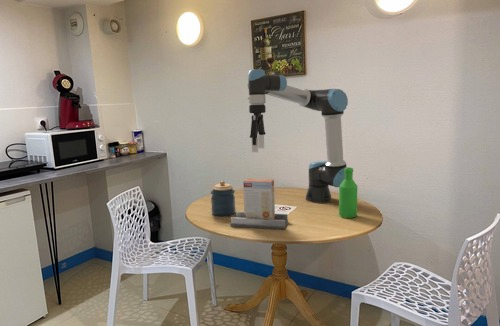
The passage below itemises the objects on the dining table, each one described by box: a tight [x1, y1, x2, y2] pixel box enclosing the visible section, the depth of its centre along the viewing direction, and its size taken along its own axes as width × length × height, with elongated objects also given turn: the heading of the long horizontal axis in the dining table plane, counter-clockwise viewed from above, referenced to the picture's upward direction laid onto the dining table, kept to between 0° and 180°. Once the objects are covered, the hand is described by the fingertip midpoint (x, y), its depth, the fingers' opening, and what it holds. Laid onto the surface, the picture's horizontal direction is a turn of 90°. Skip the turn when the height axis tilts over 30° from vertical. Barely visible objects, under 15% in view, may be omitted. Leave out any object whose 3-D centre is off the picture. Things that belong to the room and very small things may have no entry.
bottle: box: [338, 167, 358, 219], centre depth 174 cm, size 9×9×25 cm
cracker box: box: [242, 178, 276, 220], centre depth 166 cm, size 14×6×21 cm, turn 73°
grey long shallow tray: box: [230, 211, 289, 231], centre depth 167 cm, size 26×12×4 cm, turn 76°
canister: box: [210, 180, 236, 217], centre depth 185 cm, size 13×13×18 cm
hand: (258, 150), depth 162 cm, fingers open, 13 cm apart
